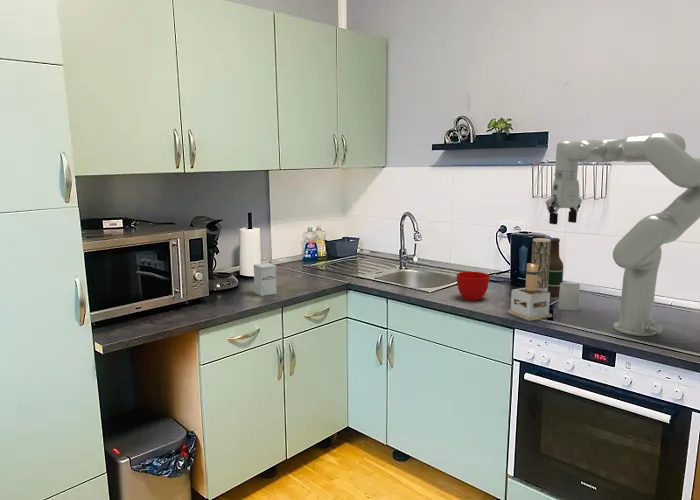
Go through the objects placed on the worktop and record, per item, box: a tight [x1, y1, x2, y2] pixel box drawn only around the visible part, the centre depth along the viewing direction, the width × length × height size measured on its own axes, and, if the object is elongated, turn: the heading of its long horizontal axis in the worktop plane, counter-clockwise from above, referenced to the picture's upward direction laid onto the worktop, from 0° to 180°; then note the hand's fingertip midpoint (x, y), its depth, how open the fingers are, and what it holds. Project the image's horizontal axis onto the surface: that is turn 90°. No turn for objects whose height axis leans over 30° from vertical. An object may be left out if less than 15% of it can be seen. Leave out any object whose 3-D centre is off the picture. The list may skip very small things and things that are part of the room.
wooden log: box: [530, 237, 551, 292], centre depth 208 cm, size 7×7×25 cm
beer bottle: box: [548, 237, 564, 298], centre depth 217 cm, size 8×8×24 cm
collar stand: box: [506, 287, 553, 322], centre depth 190 cm, size 11×11×9 cm
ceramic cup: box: [456, 271, 490, 302], centre depth 214 cm, size 13×17×10 cm
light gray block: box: [558, 282, 581, 312], centre depth 198 cm, size 4×7×10 cm, turn 71°
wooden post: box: [524, 262, 539, 307], centre depth 189 cm, size 4×4×18 cm
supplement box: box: [253, 262, 278, 297], centre depth 222 cm, size 7×7×13 cm
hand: (562, 223), depth 190 cm, fingers open, 9 cm apart
